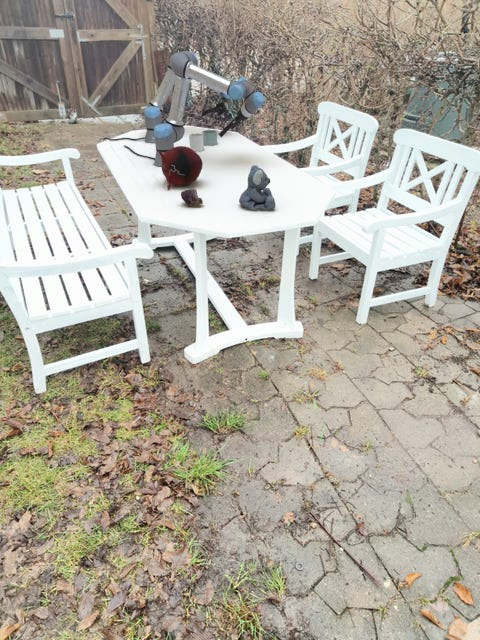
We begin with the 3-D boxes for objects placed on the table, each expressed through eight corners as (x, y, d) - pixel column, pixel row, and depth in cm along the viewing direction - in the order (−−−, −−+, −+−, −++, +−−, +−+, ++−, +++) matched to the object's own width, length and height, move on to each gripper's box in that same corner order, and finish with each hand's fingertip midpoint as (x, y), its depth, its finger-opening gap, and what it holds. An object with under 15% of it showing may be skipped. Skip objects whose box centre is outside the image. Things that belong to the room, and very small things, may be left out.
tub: (199, 144, 338) (199, 131, 333) (210, 141, 344) (209, 129, 339) (209, 146, 332) (209, 133, 327) (220, 143, 338) (219, 131, 333)
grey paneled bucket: (187, 150, 323) (186, 135, 318) (197, 147, 329) (196, 132, 323) (196, 152, 318) (195, 137, 312) (206, 149, 324) (205, 134, 318)
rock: (196, 202, 238) (178, 205, 233) (194, 185, 234) (176, 188, 230) (205, 205, 228) (187, 208, 224) (203, 188, 224) (185, 191, 220)
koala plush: (276, 211, 223) (277, 171, 212) (240, 212, 222) (240, 172, 211) (271, 199, 237) (272, 161, 226) (237, 200, 236) (237, 162, 225)
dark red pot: (160, 151, 264) (154, 150, 240) (199, 143, 263) (196, 140, 240) (169, 188, 271) (164, 190, 247) (207, 180, 270) (206, 181, 246)
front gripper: (238, 125, 271) (219, 144, 287) (258, 110, 286) (238, 129, 302) (231, 114, 269) (211, 134, 285) (251, 100, 284) (231, 119, 300)
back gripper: (236, 111, 346) (226, 118, 331) (208, 113, 356) (196, 120, 340) (235, 101, 342) (224, 107, 327) (206, 103, 351) (194, 109, 336)
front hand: (225, 131), depth 294 cm, fingers open, 13 cm apart
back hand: (210, 114), depth 334 cm, fingers open, 13 cm apart
